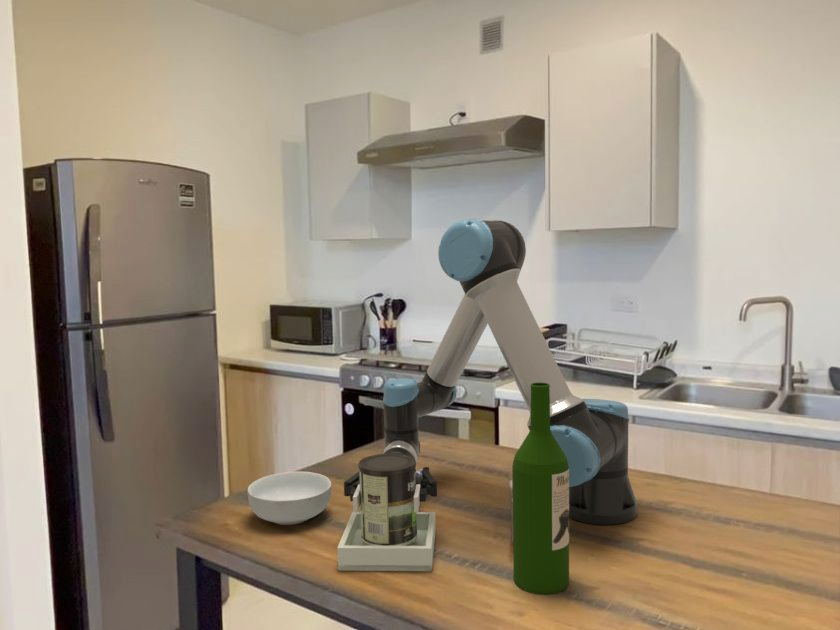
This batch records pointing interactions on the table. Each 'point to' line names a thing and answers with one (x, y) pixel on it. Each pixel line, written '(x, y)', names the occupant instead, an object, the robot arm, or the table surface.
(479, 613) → the table surface
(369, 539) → the coffee can
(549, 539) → the wine bottle
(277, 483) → the cereal bowl
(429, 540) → the tray
